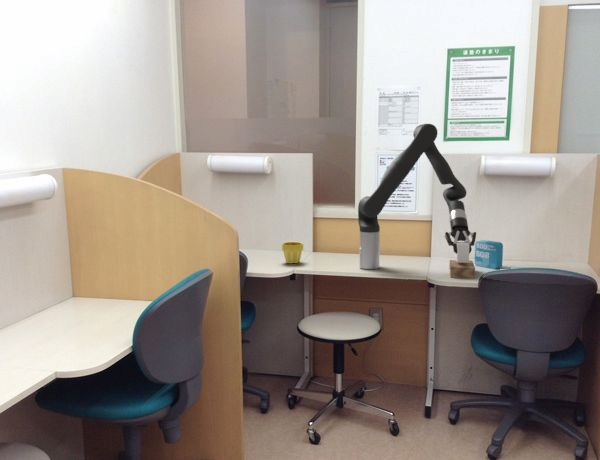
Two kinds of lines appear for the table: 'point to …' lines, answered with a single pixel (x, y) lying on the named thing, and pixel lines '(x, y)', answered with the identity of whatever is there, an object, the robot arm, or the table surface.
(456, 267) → the walnut block
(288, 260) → the plant pot
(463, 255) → the white block
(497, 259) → the data package
